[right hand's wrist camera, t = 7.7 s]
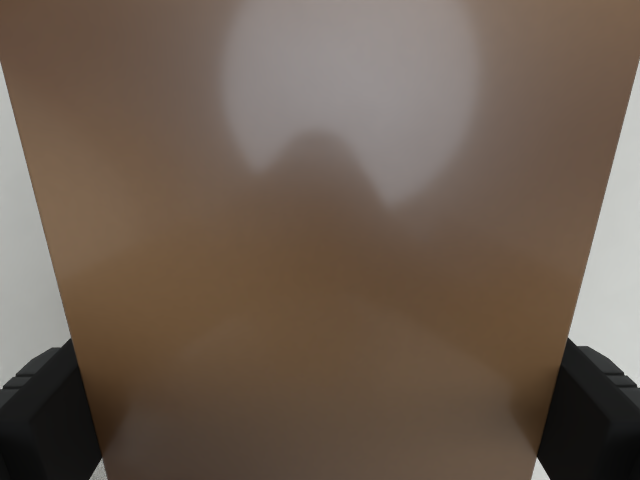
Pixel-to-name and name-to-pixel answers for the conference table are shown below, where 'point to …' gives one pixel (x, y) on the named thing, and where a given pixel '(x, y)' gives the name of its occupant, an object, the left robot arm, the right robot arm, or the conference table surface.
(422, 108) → the cabinet
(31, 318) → the conference table surface
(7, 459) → the right robot arm
